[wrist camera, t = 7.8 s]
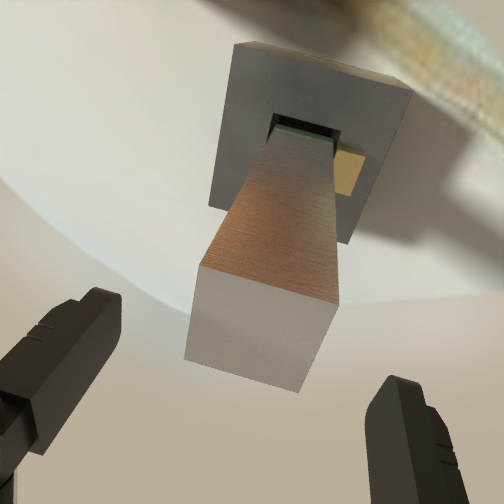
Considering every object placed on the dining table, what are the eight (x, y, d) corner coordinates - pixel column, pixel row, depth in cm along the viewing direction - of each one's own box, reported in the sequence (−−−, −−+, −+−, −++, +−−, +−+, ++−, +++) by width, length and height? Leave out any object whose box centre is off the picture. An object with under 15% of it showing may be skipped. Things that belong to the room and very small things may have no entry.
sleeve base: (394, 77, 30) (417, 93, 22) (344, 205, 36) (348, 252, 29) (255, 41, 30) (230, 44, 23) (230, 173, 37) (204, 211, 29)
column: (333, 138, 25) (340, 304, 10) (315, 191, 27) (298, 393, 12) (276, 123, 25) (198, 264, 10) (263, 177, 27) (183, 359, 12)
